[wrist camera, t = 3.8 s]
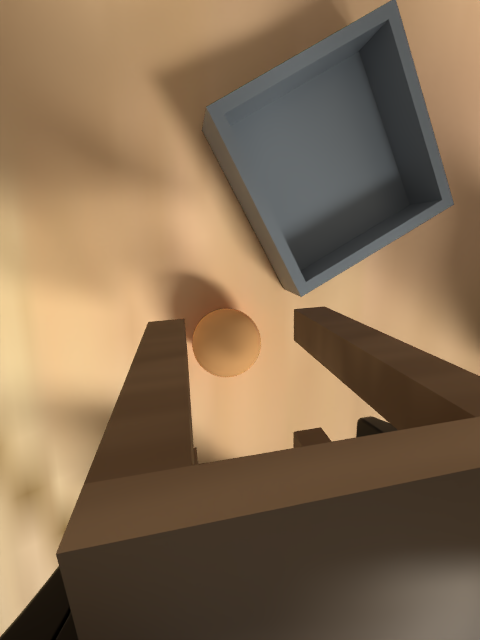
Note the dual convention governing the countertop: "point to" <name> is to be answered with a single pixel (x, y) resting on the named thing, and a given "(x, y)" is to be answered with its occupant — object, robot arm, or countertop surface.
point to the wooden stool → (284, 508)
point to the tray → (332, 151)
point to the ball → (226, 342)
